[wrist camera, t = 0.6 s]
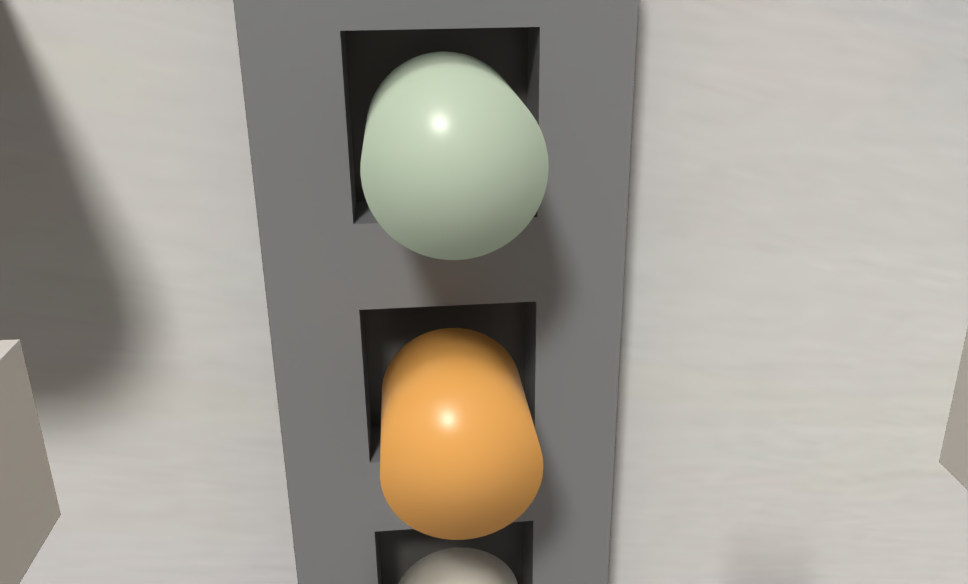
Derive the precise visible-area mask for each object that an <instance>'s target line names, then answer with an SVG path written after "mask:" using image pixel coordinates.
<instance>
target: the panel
mask: <svg viewBox="0 0 968 584" xmlns="http://www.w3.org/2000/svg"><path fill="white" fill-rule="evenodd" d="M233 2H234V11H235V20H236V29H237V38H238V47H239V56H240V65H241V74H242V83H243V92H244V101H245V110H246V119H247V128H248V137H249V146H250V155H251V164H252V173H253V182H254V191H255V200H256V209H257V218H258V227H259V236H260V245H261V254H262V263H263V272H264V281H265V290H266V299H267V308H268V317H269V326H270V335H271V344H272V353H273V362H274V371H275V380H276V389H277V398H278V407H279V416H280V425H281V434H282V443H283V452H284V461H285V470H286V479H287V488H288V497H289V506H290V515H291V524H292V533H293V542H294V551H295V560H296V569H297V578H298V584H398V583H399V581H400V580H401V578H402V576H403V575H404V574H405V572H406V571H407V570H408V569H409V568H410V567H411V566H412V565H413V564H414V563H416V562H417V561H418V560H420V559H422V558H423V557H425V556H427V555H429V554H431V553H434V552H437V551H440V550H444V549H449V548H473V549H478V550H482V551H485V552H488V553H490V554H492V555H494V556H496V557H498V558H499V559H501V560H502V561H503V562H504V563H505V564H507V566H508V567H509V568H510V569H511V570H512V572H513V574H514V575H515V577H516V580H517V583H518V584H608V568H609V549H610V530H611V511H612V492H613V473H614V454H615V435H616V416H617V397H618V378H619V359H620V341H621V322H622V303H623V284H624V265H625V246H626V227H627V208H628V189H629V170H630V151H631V132H632V113H633V94H634V76H635V57H636V38H637V19H638V0H233ZM441 51H445V52H456V53H462V54H466V55H469V56H472V57H474V58H476V59H478V60H481V61H483V62H484V63H486V64H487V65H489V66H490V67H492V68H493V69H494V70H495V71H496V72H497V73H499V74H500V76H501V77H502V78H503V79H504V80H505V81H506V82H507V84H508V85H509V86H510V87H511V89H512V90H513V91H514V92H515V94H516V95H517V96H518V97H519V98H520V100H521V101H522V102H523V103H524V105H525V106H526V107H527V108H528V110H529V111H530V112H531V114H532V115H533V117H534V118H535V120H536V121H537V123H538V125H539V127H540V129H541V131H542V134H543V137H544V140H545V143H546V147H547V153H548V164H549V171H548V181H547V186H546V190H545V194H544V196H543V199H542V202H541V204H540V206H539V208H538V210H537V212H536V214H535V215H534V217H533V218H532V220H531V221H530V223H529V224H528V225H527V226H526V227H525V229H524V230H523V231H522V232H521V233H520V234H519V235H518V236H516V237H515V238H514V239H513V240H512V241H510V242H509V243H507V244H506V245H504V246H503V247H501V248H499V249H497V250H495V251H493V252H491V253H488V254H485V255H483V256H480V257H475V258H471V259H463V260H443V259H436V258H431V257H428V256H424V255H421V254H419V253H416V252H414V251H412V250H410V249H408V248H406V247H405V246H403V245H401V244H400V243H398V242H397V241H396V240H395V239H393V238H392V237H391V236H390V235H389V234H388V233H387V232H386V231H385V230H384V229H383V228H382V227H381V225H380V224H379V223H378V222H377V220H376V219H375V217H374V215H373V214H372V212H371V210H370V208H369V206H368V204H367V201H366V199H365V196H364V192H363V188H362V182H361V175H360V167H361V155H362V148H363V141H364V134H365V127H366V120H367V114H368V110H369V106H370V103H371V101H372V98H373V96H374V94H375V92H376V90H377V89H378V87H379V85H380V84H381V83H382V82H383V80H384V79H385V78H386V77H387V76H388V75H389V74H390V73H391V72H392V71H393V70H394V69H395V68H397V67H398V66H400V65H401V64H402V63H404V62H406V61H408V60H410V59H412V58H414V57H417V56H419V55H422V54H427V53H431V52H441ZM444 328H463V329H470V330H473V331H477V332H480V333H482V334H485V335H487V336H489V337H490V338H492V339H494V340H495V341H497V342H498V343H499V344H500V345H501V346H502V347H504V348H505V349H506V351H507V352H508V353H509V354H510V356H511V357H512V359H513V361H514V362H515V364H516V367H517V370H518V373H519V376H520V379H521V383H522V386H523V390H524V393H525V396H526V400H527V403H528V407H529V410H530V414H531V417H532V420H533V424H534V427H535V431H536V434H537V437H538V441H539V444H540V448H541V452H542V456H543V476H542V481H541V485H540V487H539V490H538V492H537V494H536V496H535V498H534V500H533V501H532V503H531V504H530V506H529V507H528V508H527V509H526V511H525V512H524V513H523V514H522V515H521V516H520V517H518V518H517V519H516V520H515V521H513V522H512V523H511V524H509V525H507V526H506V527H504V528H503V529H500V530H498V531H496V532H494V533H491V534H489V535H486V536H482V537H478V538H474V539H466V540H449V539H441V538H436V537H432V536H429V535H426V534H423V533H421V532H419V531H417V530H415V529H413V528H412V527H410V526H409V525H407V524H406V523H405V522H403V521H402V520H401V519H400V518H399V517H398V516H397V515H396V514H395V513H394V512H393V510H392V509H391V508H390V506H389V505H388V503H387V501H386V499H385V497H384V494H383V491H382V488H381V482H380V448H381V405H382V383H383V378H384V375H385V372H386V369H387V367H388V365H389V363H390V362H391V360H392V359H393V357H394V356H395V355H396V353H397V352H398V351H399V350H400V349H401V348H402V347H403V346H405V345H406V344H407V343H408V342H410V341H411V340H413V339H414V338H416V337H418V336H420V335H422V334H425V333H427V332H430V331H434V330H438V329H444Z"/></svg>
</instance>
